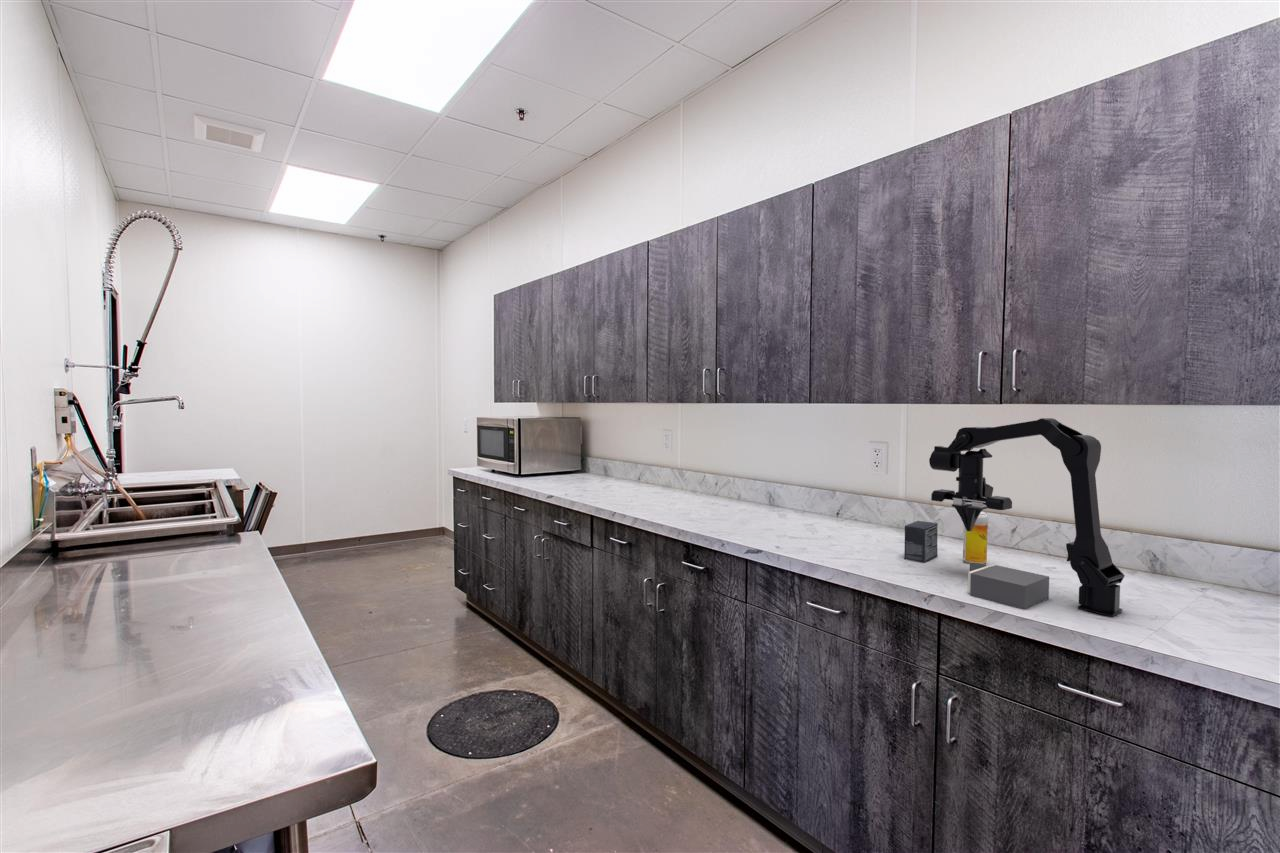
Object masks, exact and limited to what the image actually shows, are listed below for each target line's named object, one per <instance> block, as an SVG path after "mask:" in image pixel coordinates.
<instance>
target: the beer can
mask: <svg viewBox="0 0 1280 853" xmlns="http://www.w3.org/2000/svg"><path fill="white" fill-rule="evenodd" d="M988 520H989V518H988V515H987V512H986V511H983V510H982V511H981V513H980V514H979V516H978V518H977V520H976V522H975V524H974V527H973V529H972V531H967V530H966V528H965V526H964V525H963V537H962V538H963V539H962V540H963V544H962V548H963V549H962V559H963V560H964V562H965V563H966V564H969V563H980V564H984V565H986V564H985V563H987V560H988V556H987V555H988V528H989V527H988V523H989V522H988Z"/></svg>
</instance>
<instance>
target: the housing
mask: <svg viewBox="0 0 1280 853" xmlns="http://www.w3.org/2000/svg"><path fill="white" fill-rule="evenodd" d="M969 595H970V596H972V597H975V598H980V599H983V600H987V601H991V602H995V603H999V604H1002V605H1006V606H1010V607H1013V608H1018V609H1020V610H1021V609H1022V610H1026V609H1030V608H1031V607H1033V606H1036V605H1037V604H1040V603H1042V602H1044V600H1045V601H1046V599H1047V600H1049V599H1048V598H1050V576H1049V575H1045V574H1039V573H1034V572H1029V571H1025V570H1021V569H1016V568H1012V567H1011V568H1010V567H1008V566H1007V567H1006V566H1001V565H996V564H995V565H992V567H989V568H986V569H983V570H980V571H977V572H974V573H971V584H970V593H969ZM1035 604H1036V605H1035Z"/></svg>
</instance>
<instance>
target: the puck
mask: <svg viewBox="0 0 1280 853" xmlns="http://www.w3.org/2000/svg"><path fill="white" fill-rule="evenodd" d="M985 566H988V565H986V564H980V563H970V564H969V571H968V572H970V571H973V570H976V569H979V568H982V567H985Z"/></svg>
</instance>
